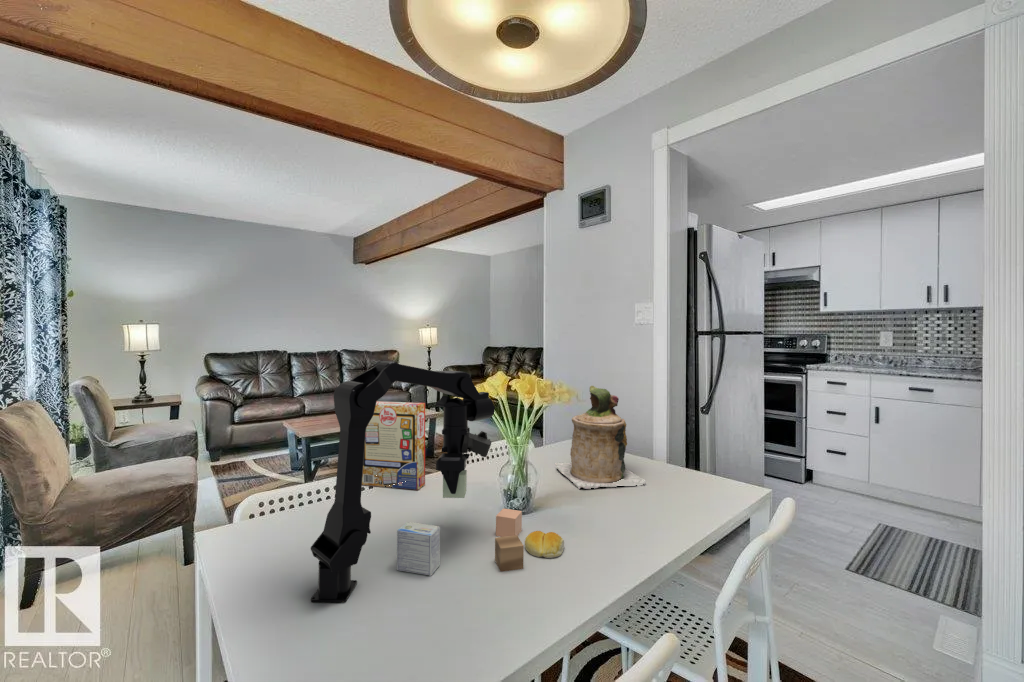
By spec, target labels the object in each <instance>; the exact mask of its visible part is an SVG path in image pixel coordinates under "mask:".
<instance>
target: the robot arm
mask: <svg viewBox="0 0 1024 682" xmlns="http://www.w3.org/2000/svg"><path fill="white" fill-rule="evenodd" d="M395 382H399V383H404V384H411V385H412V384H413V385H418V386H423V387H424V386H425V387H429V388H431V389H433V390H435V391H437V392H440V393H442V394H445V395H442V396H441V397H440V399H439V400H438V401H437V402H436V403H435V406H436V407H442V408H443V422H442V423H443V425H442V426H443V428H442V429H441V435H442V437H443V439H442V447H441V454H440V455H439V456H438V458H437V460H436V461H435V470H436V471H438V472H441V474H442V478H443V477H444V479H445V481H446V483H447V486H448V488H449V490H450V493H451V494H456V490H457V485H458V479H459V474H460V472H461V471H463V470H466V467H467V461H468V459H469V458H470V455H471V454H470V453H471V452H472V453H474V454H477V455H480V456H481V457H483V458H487V456H488V454H489V452H490V451H489V450H490V448H491V446H492V440H491V439H490V438H488V432H486V431H483V430H482V431H480V432H478V434H476V433H472V432H470V430H471V429H470V427H469V425H468V422H475V421H476V422H477V421H482V420H487V419H491V418H493V416H494V414H495V411H496V410H495V409H496V407H495V405H494V402H493V400H492V398H491V397H490V393H489V391H488V392H487V391H480V392H479V391H478V389H477V388H476V386H475V384H474V382H473V379H472V375H471V374H470V373H469V372H467V371H459V370H458V371H456V370H430V369H426V368H420V367H415V366H411V365H405V364H401V363H398V362H396V361H389V360H386V361H385V360H382V361H379V362H378V363H377V364H375V365H374V366H373V367H371V368H370V369H367V370H365V371H364V372H361V373H360V374H358V375H356V376H354V377H353V378H352V379H351V380H347V381H344V382H341V383H340V384H339V385H337V386H336V387H335V389H334V393H333V403H334V412H335V416H336V420H337V422H338V425H339V440H338V441H339V442H338V453H337V454H338V455H337V468H336V479H335V480H336V481H335V482H336V483H335V492H334V493H335V494H334V496H335V497H334V502H333V504H332V505H331V508H330V509H329V511H328V513H327V514H326V515H327V516H326V520H325V523H324V528H323V531H322V532H321V533H320V534H319V536H318V537H317V539H316V540H315V541H314V542H313V543H312V545H311V546H310V551H311V554H312V555H313V557H314V558H316V559H317V560H318V585H317V587H318V588H317V590H316V591H315V592H314V594H313V595H312V596H311V598H310V602H311V603H345V602H347V600H348V599H349V597H350V596H351V594H352V593H353V591H354V590H355V588H356V586H357V585H358V581H357V580H356V579H353V580H352V566H354V565H357V564H358V561H359V559H360V555H361V552H362V548H363V546H364V545H365V544H366V542H367V539H368V534H371V529H370V527H371V526H370V525H371V524H370V523H371V519H372V511H370V510H368V509H367V508H365V507H363V506H362V502H361V501H362V500H361V499H362V488H363V485H362V476H363V462H364V448H365V434H366V428H367V426H368V424H369V422H370V420H371V419H372V417H373V415H374V411H375V406H376V402H377V401H379V400H380V399H382V397H384V396H385V395H386V393H388V391H389V389H390V388H391V387H392V385H393V384H394V383H395ZM449 395H450V396H453V397H451V398H450V396H449Z"/></svg>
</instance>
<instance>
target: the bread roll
mask: <svg viewBox="0 0 1024 682" xmlns="http://www.w3.org/2000/svg"><path fill="white" fill-rule="evenodd" d="M524 548H525V550H526V551H527V553H529V554H530V555H532V556H533V557H539V558H542V557H544V558H546V559H554V558H558V557H560V556H561V555H562V554H563V552H564V549H565V540H564V539H563V538H562V536H560V535H559V534H558V533H556V532H555V531H548V532H546V533H545V532H544V531H541V530H535V531H532V532H530V533H529V534H528V535H526V537H525V539H524Z"/></svg>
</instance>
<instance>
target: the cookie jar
mask: <svg viewBox="0 0 1024 682" xmlns="http://www.w3.org/2000/svg"><path fill="white" fill-rule="evenodd" d="M589 394H590V396H589V397H590V398H589V399H590V403H591V408H589V409H587V411H585V412H584V413H581V414H578V415H574V416H572V418H571V423H572V424H573V430H572V431H573V432H572V437H571V448H570V454H569V455H570V459H571V460H570V461H571V462H555V463H554V464H555V467H556V470H557V469H558V470H557V471H559V472H560V473H561V474H563V476H565V478H567V479H568V480H569V481H570V482H573V483H572V484H573V485H574V486H575V487H576V488H577V487H578V488H579V489H578V488H577V489H578V490H580V489H581V488H583V489H586V490H592V489H591V488H594V489H599V488H600V487H615V486H625V485H619V484H616V483H613V482H617V481H619V480H621V479H624V480H627V481H629V482H632V483H634V484H644V485H645V484H646V479H644V478H643V477H641V476H639V475H637V474H636V473H634V472H633V471H631V470H629V469H628V468H627V469H626V464H625V460H624V459H625V453H626V450H627V449H626V448H627V446H628V442H627V441H628V437H627V433H626V431H627V430H626V427H627V423H626V420H625V419H624V418H621V417H620V415H619V414H617V413H616V409H615V407H618V404H619V397H618V396H617V395H613V394H611V392H610V391H609V390H607V388H599V387H596V386H594V385H590V386H589Z"/></svg>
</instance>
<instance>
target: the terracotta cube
mask: <svg viewBox="0 0 1024 682" xmlns="http://www.w3.org/2000/svg"><path fill="white" fill-rule="evenodd" d="M522 527H523V511H522V510H516V509H509V508H502V509H501V510H500V511H499V512H498V513H497V514H496V515H495V536H496V537H506V536H515V535H517V536H518V537H519V534H520V533H521V532H522V529H523V528H522Z"/></svg>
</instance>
